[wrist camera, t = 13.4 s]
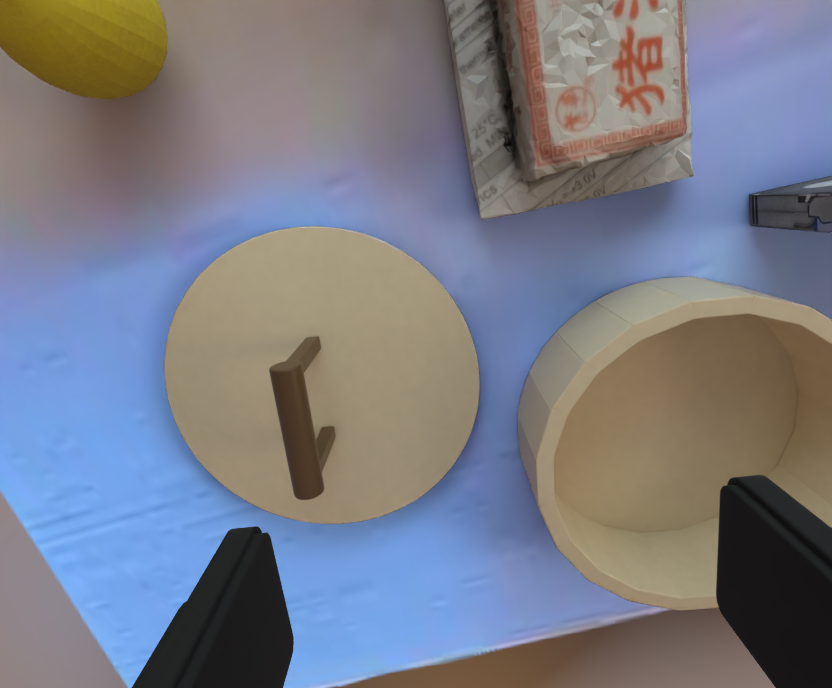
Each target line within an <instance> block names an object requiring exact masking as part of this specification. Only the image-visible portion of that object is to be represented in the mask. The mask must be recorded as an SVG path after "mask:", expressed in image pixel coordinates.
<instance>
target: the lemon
mask: <svg viewBox="0 0 832 688" xmlns="http://www.w3.org/2000/svg"><path fill="white" fill-rule="evenodd" d="M167 38H168V36H167V30H166V24H165V19H164V16H163V13H162V11H161V9H160V6H159V4H158V1H157V0H0V47H1V48H2V49H3V50H4V51H5V52H6V53H7V54H8V55H9V56H10V58H12V59H13V60H14V61H15V62H17V63H18V64H19V65H21V66H22V67H24V68H25V69H27V70H28V71H29V72H31V73H32V74H34V75H35V76H37V77H38V78H39V79H41V80H43V81H45V82H46V83H48V84H50V85H53V86H55V87H57V88H60V89H62V90H65V91H67V92H70V93H73V94H75V95H79V96H83V97H91V98H98V99H116V98H122V97H128V96H131V95H133V94H135V93H137V92H139V91H142V90H143V89H145V88H146V87H147V86H148V85H150V84H151V83H152V82H153V81H154V80H155V79H156V77H157V75H158V74H159V72H160V71H161V69H162V67H163V64H164V61H165V57H166V54H167Z"/></svg>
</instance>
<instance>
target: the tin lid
mask: <svg viewBox="0 0 832 688" xmlns="http://www.w3.org/2000/svg"><path fill="white" fill-rule="evenodd" d="M164 371H165V385H166V390H167V396H168V401H169V405H170V408H171V411H172V414H173V417H174V420H175V422H176V424H177V426H178V428H179V430H180V432H181V435H182V437H183V439H184V440H185V442H186V443H187V445H188V446H189V448H190V450H191V451H192V453H193V454H194V456H195V457H196V458H197V459H198V460H199V462H200V463H201V464H202V465H203V466H204V468H205V469H206V470H207V471H208V472H209V473H210V474H211V475H212V476H213V477H214V478H215V479H217V480H218V481H219V482H220V483H221V484H222V485H223V486H225V487H226V488H227V489H229V490H230V491H231V492H233V493H234V494H235V495H237V496H239V497H240V498H242V499H244V500H245V501H247V502H249V503H251V504H252V505H254V506H257V507H259V508H261V509H263V510H265V511H268V512H270V513H273V514H276V515H279V516H282V517H285V518H288V519H293V520H298V521H303V522H309V523H320V524H345V523H353V522H360V521H365V520H369V519H373V518H377V517H381V516H384V515H386V514H389V513H391V512H394V511H396V510H399V509H401V508H402V507H404V506H406V505H408V504H410V503H412V502H414V501H415V500H417V499H418V498H419V497H421V496H422V495H424V494H425V493H426V492H428V491H429V490H430V489H431V488H433V487H434V486H435V485H436V484H437V483H438V482H439V481H440V480H441V479H442V478H443V477H444V476H445V475H446V473H447V472H448V471H449V470H450V469H451V467H452V466H453V465H454V464H455V462H456V461H457V459H458V457H459V456H460V454H461V453H462V451H463V449H464V448H465V445H466V443H467V441H468V439H469V436H470V434H471V432H472V429H473V425H474V422H475V418H476V415H477V410H478V403H479V395H480V372H479V366H478V359H477V353H476V349H475V346H474V343H473V339H472V336H471V333H470V330H469V328H468V326H467V323H466V321H465V319H464V317H463V315H462V313H461V311H460V309H459V308H458V306H457V305H456V303H455V301H454V300H453V298H452V297H451V295H450V294H449V293H448V291H447V290H446V289H445V288H444V287H443V285H442V284H441V283H440V282H439V281H438V279H437V278H436V277H435V276H433V275H432V274H431V273H430V272H429V271H428V270H427V269H426V268H425V267H424V266H423V265H422V264H420V263H419V262H418V261H416V260H415V259H413V258H412V257H410V256H409V255H408V254H406V253H405V252H403V251H402V250H400V249H398V248H396V247H394V246H392V245H390V244H388V243H386V242H385V241H382V240H380V239H377V238H374V237H372V236H369V235H366V234H364V233H360V232H356V231H351V230H347V229H342V228H335V227H324V226H307V227H293V228H288V229H282V230H277V231H272V232H269V233H266V234H263V235H260V236H257V237H254V238H251V239H249V240H247V241H245V242H243V243H241V244H239V245H237V246H235V247H233V248H231V249H230V250H229V251H227V252H226V253H224V254H223V255H221V256H220V257H218V258H217V259H216V260H214V261H213V262H212V263H211V264H210V265H209V266H208V267H207V268H206V269H205V270H204V271H203V272H202V273H201V274H200V275H199V276H198V277H197V278H196V280H195V281H194V282H193V283H192V285H191V286H190V287H189V289H188V290H187V292H186V293H185V295H184V297H183V299H182V300H181V302H180V304H179V305H178V307H177V310H176V312H175V315H174V317H173V320H172V323H171V325H170V329H169V333H168V338H167V342H166V349H165V360H164Z"/></svg>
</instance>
